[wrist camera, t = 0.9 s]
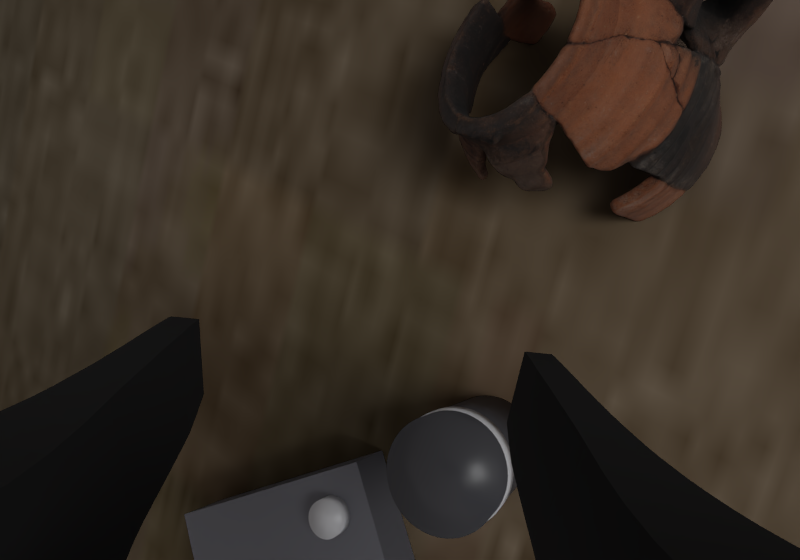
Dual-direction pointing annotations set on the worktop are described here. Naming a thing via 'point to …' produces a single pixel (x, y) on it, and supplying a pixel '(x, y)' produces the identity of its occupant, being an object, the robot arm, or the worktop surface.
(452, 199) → the worktop surface
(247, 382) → the worktop surface
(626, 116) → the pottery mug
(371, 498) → the camera body
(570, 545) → the robot arm
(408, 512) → the lens
